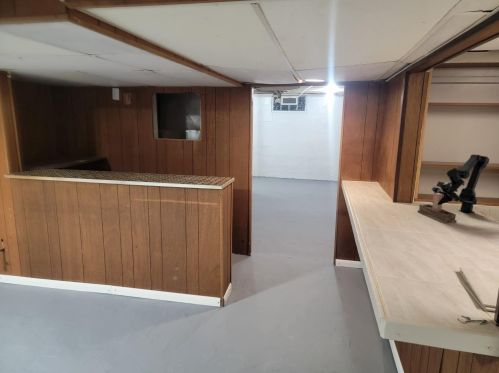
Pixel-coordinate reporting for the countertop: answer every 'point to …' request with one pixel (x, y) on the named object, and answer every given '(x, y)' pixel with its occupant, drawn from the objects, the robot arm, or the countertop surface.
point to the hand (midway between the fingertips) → (435, 203)
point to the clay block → (437, 201)
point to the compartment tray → (437, 214)
